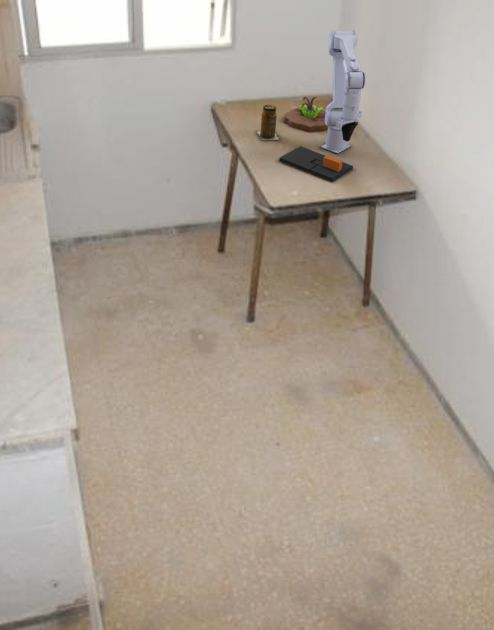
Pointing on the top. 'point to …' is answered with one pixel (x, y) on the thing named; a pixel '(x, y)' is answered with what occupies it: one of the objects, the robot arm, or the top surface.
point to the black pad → (302, 158)
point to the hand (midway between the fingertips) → (346, 140)
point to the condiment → (268, 123)
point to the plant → (307, 117)
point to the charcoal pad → (330, 168)
